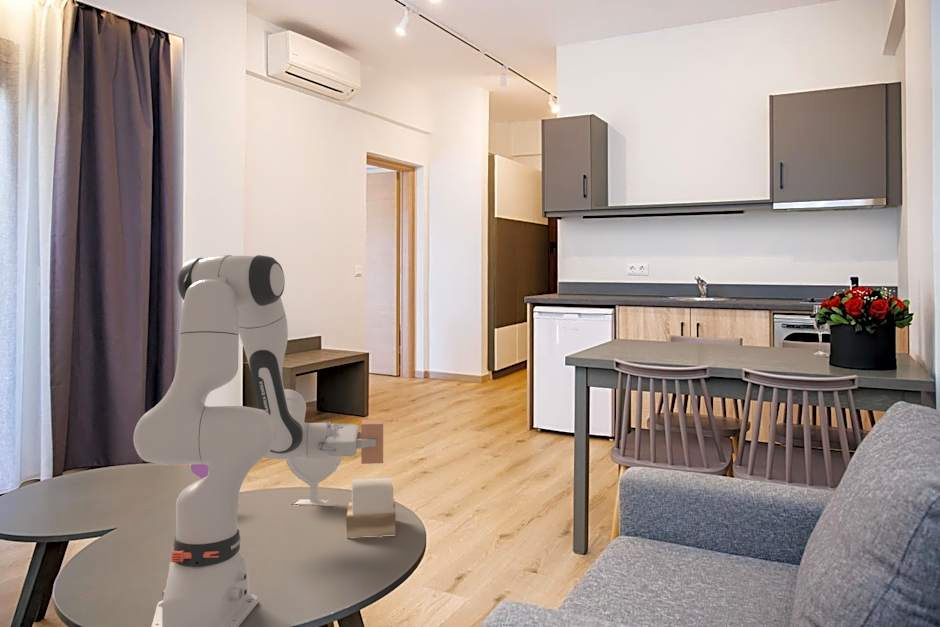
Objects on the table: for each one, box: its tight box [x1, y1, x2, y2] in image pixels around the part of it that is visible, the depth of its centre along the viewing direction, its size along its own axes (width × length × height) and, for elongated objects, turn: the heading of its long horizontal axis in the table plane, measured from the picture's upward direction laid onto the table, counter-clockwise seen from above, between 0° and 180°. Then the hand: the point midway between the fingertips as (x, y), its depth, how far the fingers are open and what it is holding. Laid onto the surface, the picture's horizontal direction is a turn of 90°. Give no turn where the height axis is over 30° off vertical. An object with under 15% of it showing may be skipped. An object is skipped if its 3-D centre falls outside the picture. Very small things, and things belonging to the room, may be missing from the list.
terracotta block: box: [360, 419, 384, 465], centre depth 176 cm, size 5×5×10 cm
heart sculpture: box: [285, 456, 343, 504], centre depth 198 cm, size 16×5×18 cm, turn 83°
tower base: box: [346, 498, 397, 538], centre depth 177 cm, size 12×12×6 cm
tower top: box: [351, 477, 394, 515], centre depth 177 cm, size 10×10×6 cm
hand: (376, 439), depth 176 cm, fingers closed on terracotta block, 5 cm apart
